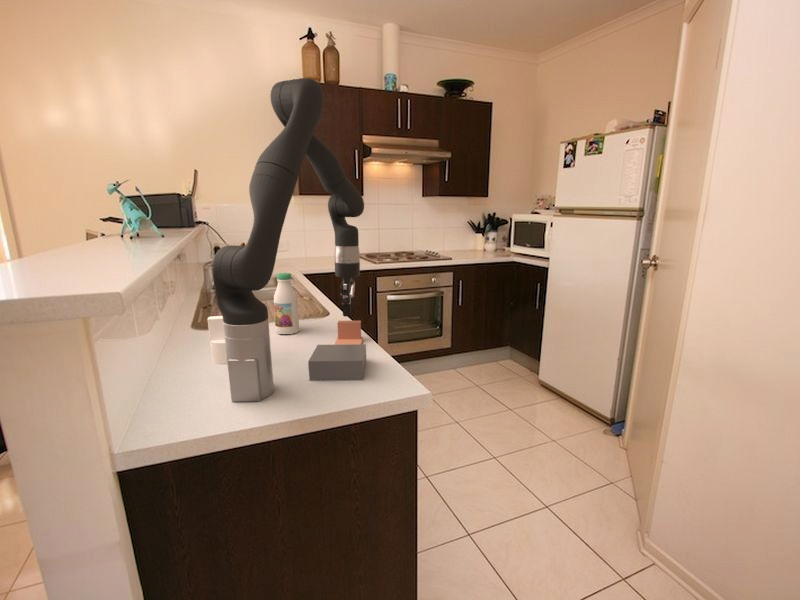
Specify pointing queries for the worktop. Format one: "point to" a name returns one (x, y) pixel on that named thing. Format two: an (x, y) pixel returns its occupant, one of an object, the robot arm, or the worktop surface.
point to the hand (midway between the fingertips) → (348, 312)
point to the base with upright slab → (217, 339)
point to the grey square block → (338, 362)
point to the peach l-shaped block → (349, 333)
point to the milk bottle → (285, 306)
